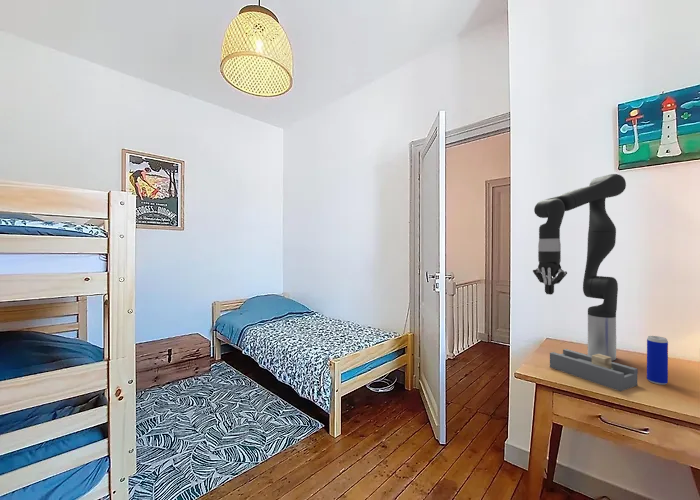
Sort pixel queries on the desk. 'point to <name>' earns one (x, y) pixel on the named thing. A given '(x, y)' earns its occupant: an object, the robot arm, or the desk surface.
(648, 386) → the desk surface
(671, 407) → the desk surface
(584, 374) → the box
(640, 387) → the desk surface
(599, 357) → the birch block
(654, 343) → the blue cylinder
